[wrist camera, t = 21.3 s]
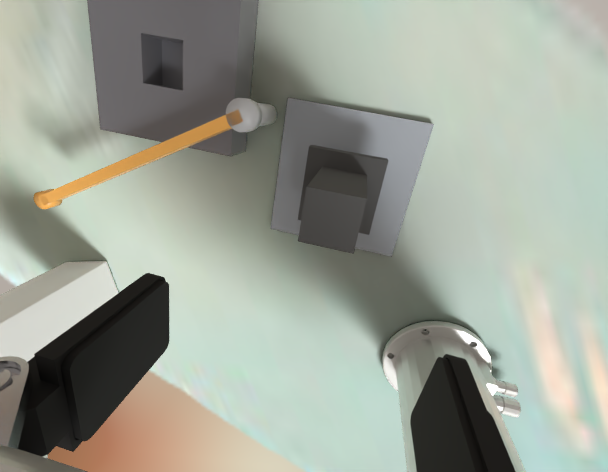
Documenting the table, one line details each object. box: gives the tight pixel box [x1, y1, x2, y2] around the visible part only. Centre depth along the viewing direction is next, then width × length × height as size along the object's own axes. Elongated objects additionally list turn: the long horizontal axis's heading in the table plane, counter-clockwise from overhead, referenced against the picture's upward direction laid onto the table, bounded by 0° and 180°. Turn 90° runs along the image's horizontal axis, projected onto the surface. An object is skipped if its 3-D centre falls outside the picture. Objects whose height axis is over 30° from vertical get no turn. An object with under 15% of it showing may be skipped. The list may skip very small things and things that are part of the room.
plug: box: [298, 145, 388, 254], centre depth 26 cm, size 7×7×12 cm
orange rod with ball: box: [34, 98, 262, 209], centre depth 29 cm, size 26×3×2 cm, turn 110°
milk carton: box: [0, 261, 119, 362], centre depth 36 cm, size 7×7×19 cm
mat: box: [271, 98, 434, 257], centre depth 32 cm, size 14×14×1 cm
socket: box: [87, 0, 277, 156], centre depth 28 cm, size 17×14×6 cm
